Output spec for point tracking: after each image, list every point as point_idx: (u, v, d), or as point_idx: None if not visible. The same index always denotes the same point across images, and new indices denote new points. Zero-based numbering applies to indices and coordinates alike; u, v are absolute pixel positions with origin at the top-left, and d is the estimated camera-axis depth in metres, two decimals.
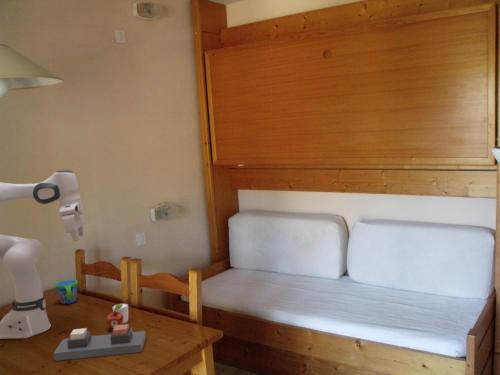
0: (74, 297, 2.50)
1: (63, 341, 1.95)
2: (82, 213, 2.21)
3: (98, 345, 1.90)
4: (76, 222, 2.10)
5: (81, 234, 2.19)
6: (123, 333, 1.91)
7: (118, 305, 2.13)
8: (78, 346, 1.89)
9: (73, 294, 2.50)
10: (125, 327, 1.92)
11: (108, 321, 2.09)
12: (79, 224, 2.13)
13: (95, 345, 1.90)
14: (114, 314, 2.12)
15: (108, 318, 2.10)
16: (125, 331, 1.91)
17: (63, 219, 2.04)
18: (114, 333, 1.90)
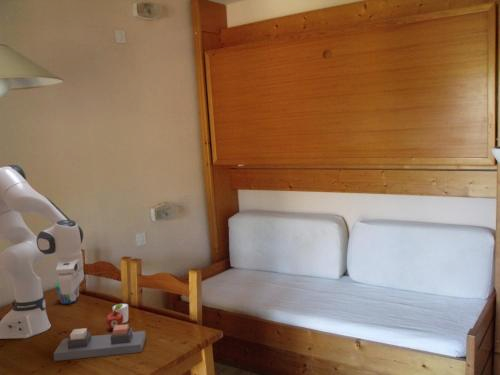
0: None
1: (63, 341, 1.95)
2: (81, 268, 1.97)
3: (98, 345, 1.90)
4: (74, 282, 1.85)
5: (76, 294, 1.92)
6: (123, 333, 1.91)
7: (118, 305, 2.13)
8: (78, 346, 1.89)
9: None
10: (125, 327, 1.92)
11: (108, 321, 2.09)
12: (77, 283, 1.89)
13: (95, 345, 1.90)
14: (114, 314, 2.12)
15: (108, 318, 2.10)
16: (125, 331, 1.91)
17: (59, 279, 1.79)
18: (114, 333, 1.90)
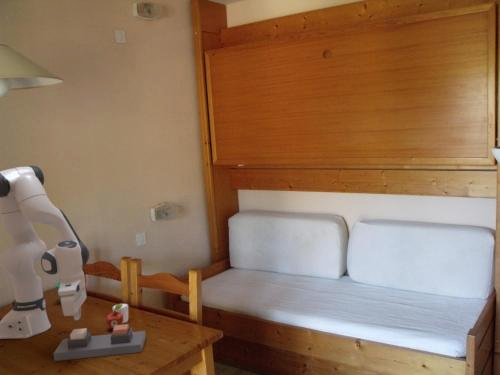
0: None
1: (63, 341, 1.95)
2: (84, 288, 1.97)
3: (98, 345, 1.90)
4: (76, 303, 1.85)
5: None
6: (123, 333, 1.91)
7: (118, 305, 2.13)
8: (78, 346, 1.89)
9: None
10: (125, 327, 1.92)
11: (108, 321, 2.09)
12: (79, 303, 1.89)
13: (95, 345, 1.90)
14: (114, 314, 2.12)
15: (108, 318, 2.10)
16: (125, 331, 1.91)
17: (62, 301, 1.80)
18: (114, 333, 1.90)
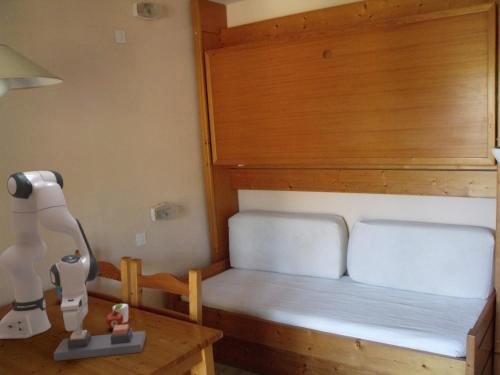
0: None
1: (63, 341, 1.95)
2: (85, 302, 1.98)
3: (98, 345, 1.90)
4: (78, 317, 1.86)
5: None
6: (123, 333, 1.91)
7: (118, 305, 2.13)
8: (78, 346, 1.89)
9: None
10: (125, 327, 1.92)
11: (108, 321, 2.09)
12: (81, 318, 1.90)
13: (95, 345, 1.90)
14: (114, 314, 2.12)
15: (108, 318, 2.10)
16: (125, 331, 1.91)
17: (64, 316, 1.81)
18: (114, 333, 1.90)
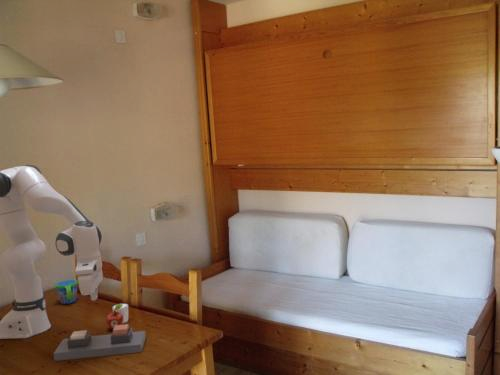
0: (74, 297, 2.50)
1: (63, 341, 1.95)
2: (100, 269, 1.97)
3: (98, 345, 1.90)
4: (93, 282, 1.85)
5: None
6: (123, 333, 1.91)
7: (118, 305, 2.13)
8: (78, 346, 1.89)
9: (73, 294, 2.50)
10: (125, 327, 1.92)
11: (108, 321, 2.09)
12: (96, 284, 1.88)
13: (95, 345, 1.90)
14: (114, 314, 2.12)
15: (108, 318, 2.10)
16: (125, 331, 1.91)
17: (79, 280, 1.79)
18: (114, 333, 1.90)
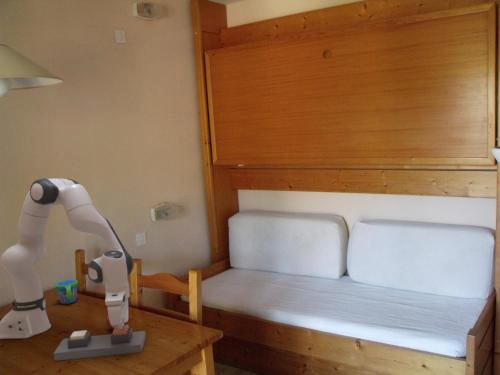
0: (74, 297, 2.50)
1: (63, 341, 1.95)
2: None
3: (98, 345, 1.90)
4: (122, 312, 1.88)
5: None
6: (123, 334, 1.91)
7: None
8: (78, 346, 1.89)
9: (73, 294, 2.50)
10: (125, 328, 1.92)
11: (108, 321, 2.09)
12: (124, 313, 1.92)
13: (95, 345, 1.90)
14: None
15: (108, 318, 2.10)
16: (125, 332, 1.91)
17: (109, 310, 1.82)
18: (114, 334, 1.90)
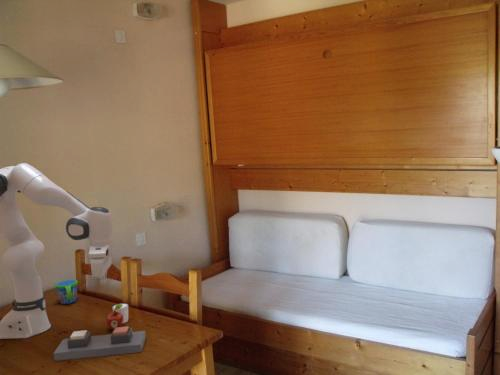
0: (74, 297, 2.50)
1: (63, 341, 1.95)
2: (110, 254, 2.05)
3: (98, 345, 1.90)
4: (104, 266, 1.93)
5: None
6: None
7: (118, 305, 2.13)
8: (78, 346, 1.89)
9: (73, 294, 2.50)
10: (125, 329, 1.92)
11: (108, 321, 2.09)
12: (106, 268, 1.97)
13: (95, 345, 1.90)
14: (114, 314, 2.12)
15: (108, 318, 2.10)
16: (125, 333, 1.91)
17: (92, 263, 1.88)
18: (114, 335, 1.91)
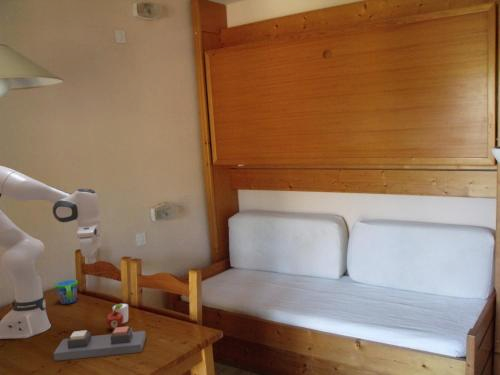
0: (74, 297, 2.50)
1: (63, 341, 1.95)
2: (99, 235, 2.10)
3: (98, 345, 1.90)
4: (93, 245, 1.98)
5: None
6: None
7: (118, 305, 2.13)
8: (78, 346, 1.89)
9: (73, 294, 2.50)
10: (125, 329, 1.92)
11: (108, 321, 2.09)
12: (96, 247, 2.02)
13: (95, 345, 1.90)
14: (114, 314, 2.12)
15: (108, 318, 2.10)
16: (125, 333, 1.91)
17: (80, 242, 1.93)
18: (114, 335, 1.91)
